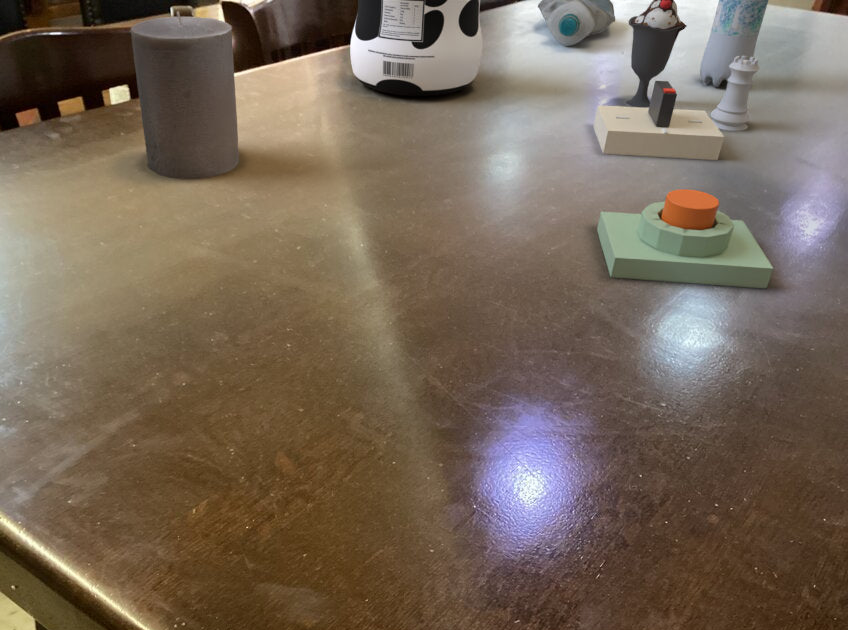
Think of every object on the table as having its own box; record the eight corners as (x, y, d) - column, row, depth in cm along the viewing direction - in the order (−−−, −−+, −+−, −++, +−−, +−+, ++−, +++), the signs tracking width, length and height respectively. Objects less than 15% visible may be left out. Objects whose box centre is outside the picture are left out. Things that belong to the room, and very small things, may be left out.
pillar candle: (129, 175, 83) (106, 17, 74) (176, 144, 91) (161, -2, 82) (215, 188, 80) (201, 26, 72) (256, 156, 88) (248, 6, 79)
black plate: (647, 112, 92) (655, 78, 90) (660, 113, 92) (668, 78, 90) (655, 126, 88) (664, 91, 86) (669, 127, 88) (677, 91, 86)
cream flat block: (697, 136, 95) (705, 108, 93) (716, 164, 87) (725, 135, 85) (592, 130, 96) (597, 103, 94) (602, 158, 89) (608, 129, 87)
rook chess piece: (698, 125, 98) (717, 55, 93) (726, 120, 99) (746, 52, 95) (726, 136, 95) (747, 65, 90) (755, 132, 96) (777, 61, 91)
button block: (735, 243, 72) (749, 200, 69) (764, 293, 64) (781, 247, 62) (596, 234, 73) (605, 191, 71) (609, 282, 66) (619, 236, 63)
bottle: (702, 74, 116) (744, -87, 105) (751, 82, 113) (800, -83, 102) (688, 84, 112) (731, -82, 100) (739, 93, 109) (789, -78, 97)
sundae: (648, 118, 100) (680, -16, 91) (601, 105, 104) (627, -24, 95) (676, 108, 103) (709, -22, 95) (630, 96, 107) (657, -30, 99)
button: (706, 213, 68) (712, 190, 67) (717, 234, 65) (725, 210, 63) (656, 210, 68) (662, 187, 67) (665, 231, 65) (672, 206, 64)
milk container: (445, 66, 119) (457, -75, 108) (501, 99, 106) (520, -57, 95) (332, 75, 114) (333, -71, 104) (376, 111, 101) (382, -52, 91)
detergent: (540, 15, 147) (516, 43, 127) (550, -29, 143) (527, -7, 123) (614, 28, 144) (601, 59, 124) (626, -16, 140) (615, 8, 120)
